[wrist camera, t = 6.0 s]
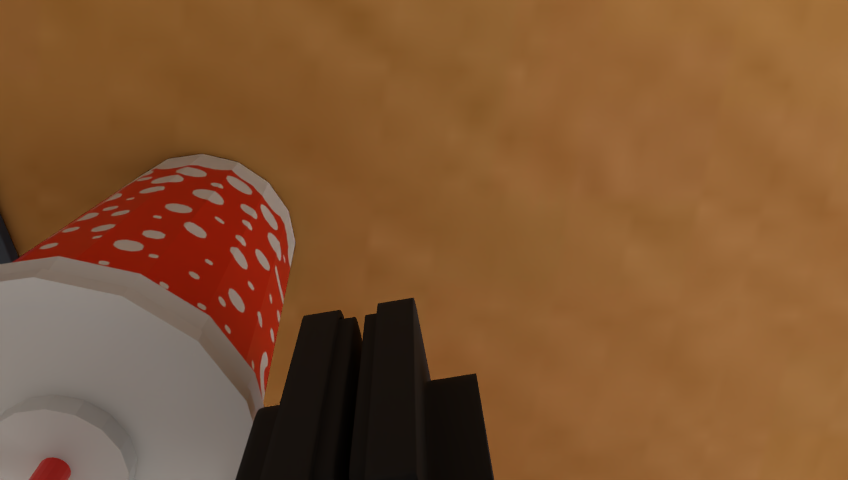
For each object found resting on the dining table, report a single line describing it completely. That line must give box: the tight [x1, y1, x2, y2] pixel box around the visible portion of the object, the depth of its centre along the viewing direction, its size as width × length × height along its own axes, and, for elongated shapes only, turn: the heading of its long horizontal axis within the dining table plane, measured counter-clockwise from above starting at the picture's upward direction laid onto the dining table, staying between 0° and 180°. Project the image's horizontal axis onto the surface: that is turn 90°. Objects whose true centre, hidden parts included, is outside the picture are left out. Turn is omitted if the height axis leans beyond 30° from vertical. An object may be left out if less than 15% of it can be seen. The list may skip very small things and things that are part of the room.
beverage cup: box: [0, 154, 296, 480], centre depth 13 cm, size 6×6×14 cm
